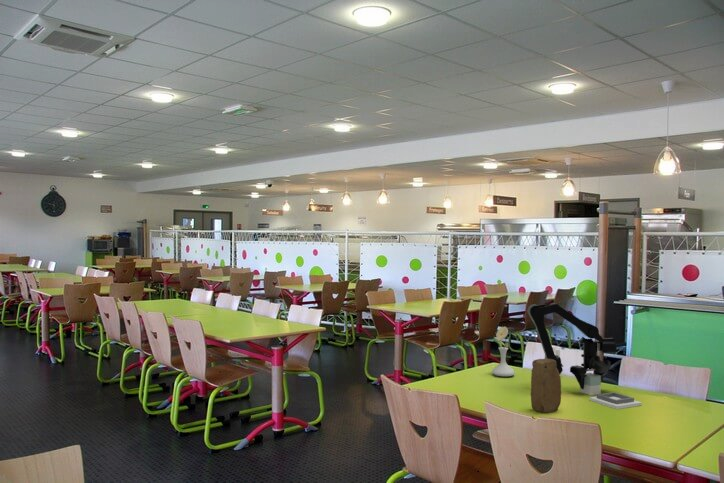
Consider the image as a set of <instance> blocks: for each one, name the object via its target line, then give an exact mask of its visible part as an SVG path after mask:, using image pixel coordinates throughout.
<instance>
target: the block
mask: <svg viewBox="0 0 724 483" xmlns="http://www.w3.org/2000/svg"><path fill="white" fill-rule="evenodd" d="M531 365H532V369H531V376H530V380H531V381H530V404H531V408H532V409H533V410H535V411H536V412H539V413H546V414H549V413H553V412H556V411H558V409H559V408H560V405H561V404H562V403H561V402H562V379H561V374H560V375H559V372H558V370H557V367H556V366H557V365H556V361H555V360H553V359H547V358H545V357H544V358H537V359H534V360H533V361H532V363H531Z"/></svg>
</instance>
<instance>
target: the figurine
mask: <svg viewBox="0 0 724 483" xmlns="http://www.w3.org/2000/svg"><path fill="white" fill-rule="evenodd" d="M552 348H553V351H554V354H555V356H556V355H558V356H559V357H560V358H561V349H560V348H556V346H554V345H552ZM563 371H564V370H562V372H563Z"/></svg>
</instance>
